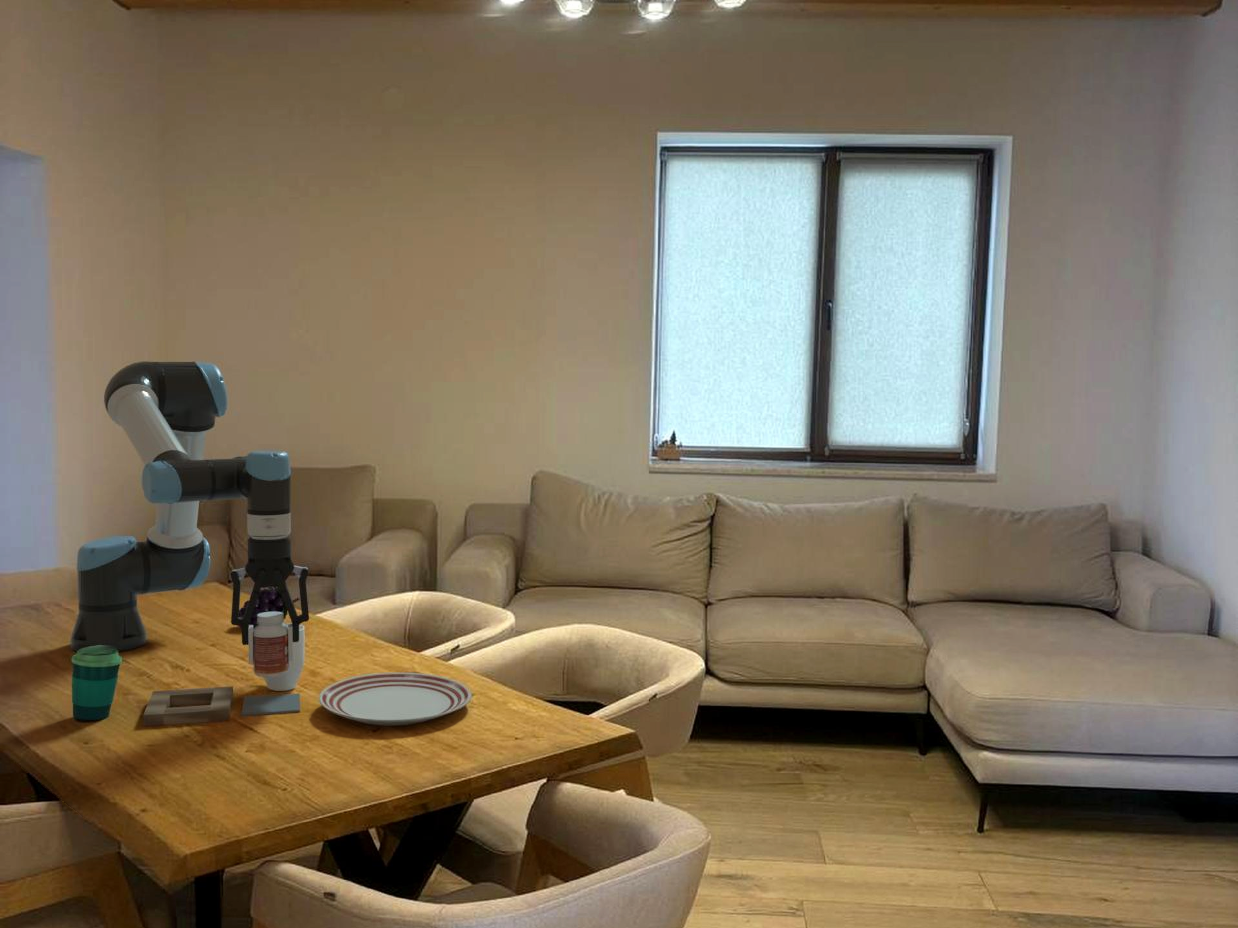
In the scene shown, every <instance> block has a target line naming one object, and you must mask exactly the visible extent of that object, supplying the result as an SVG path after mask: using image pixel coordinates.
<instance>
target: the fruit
mask: <svg viewBox="0 0 1238 928" xmlns="http://www.w3.org/2000/svg"><path fill="white" fill-rule="evenodd" d="M292 601H293V604H294V603H296V602H298V601H301V600H300V597H297V598H295V599H292ZM248 602H249V599H248V600H246V601H245V602H244V605H243V606H242V607H241V608H239V617H240V618H243V617H244V614H245V611H246V608H247V605H248ZM295 606H296V605H295V604H294V607H295ZM263 612H282V613H283V614H284V620H286V619H287V616H288V615H289V613H288V611H287V608H286V605H285V602H284V600H283V597H282V594H281V592H280V589H279V587H267V588H262V589H260V592H259V595H258V598H257V601H256V604H255V607H254V610H253V613H252V616H251V619H250V622H249V625H253V627H257V626H258V625H259V624H258V623H257V615H258V614H259V613H263ZM282 623H284V621H283V622H282Z"/></svg>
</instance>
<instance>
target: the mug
mask: <svg viewBox="0 0 1238 928" xmlns="http://www.w3.org/2000/svg"><path fill="white" fill-rule="evenodd" d="M288 623H289V622H283V623H282V624H284V625H285V626H286V627H287V628H288ZM305 628H306V627H305V625H303V624H300V625H299V641H298V642H293V661H289V671H288V672H287V673H286V674H284V675H281V676H276V677H262V678H263V680H264V682H265V684H266V686H267V689H268V690H271V691H274V692H275V691H277V692H279V691H280V692H283V691H285V692H287V691H291V690H293V689H295V688H296V687H297V684H298V682H299V679H300V676H301V674H302V671H303V669H304V665H305V651H306V647H305V646H306V644H305V643H306V642H305V640H306V639H305V635H306V633H305V630H306V629H305Z"/></svg>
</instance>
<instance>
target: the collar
mask: <svg viewBox="0 0 1238 928" xmlns="http://www.w3.org/2000/svg"><path fill="white" fill-rule="evenodd" d="M233 700H234V685H232V686H216V687H201V688H200V687H198V688H197V687H196V688H184V689H169V690H168V689H167V690H152V693H151V696H150V699H149V700H148V703H147V706H146V707H145V710H144V713H143V715H142V717H143V718H142V719H143V722H142V724H143V725H142V726H143V727H156V726H157V727H158V726H171V725H182V724H185V725H186V724H197V723H198V724H199V723H212V722H213V723H214V722H226V721H227V722H228V721H230V717H231V712H232V707H233ZM207 704H208V705H207ZM209 704H210V705H209ZM191 705H192V706H191ZM195 705H196V706H195ZM174 706H175V707H174ZM176 706H179V707H176Z"/></svg>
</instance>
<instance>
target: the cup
mask: <svg viewBox="0 0 1238 928" xmlns="http://www.w3.org/2000/svg"><path fill="white" fill-rule="evenodd" d="M71 662H72V675H71V703H72V717H73V718H74V720H75V721H76V722H79V723H93V722H99V721H102V720H105V719H107V718H109V716H110V712H111V707H112V704H113V702H114V697H115V693H116V688H117V683H118V678H119V675H118V674H119V671H120V666H121V664H122V662H123V658H122V656H120V655H119V652H118V651H117V648H116V647H115V646H110V645H97V646H90V647H85V648H82V649H79V650H78V651H76V654H74V655H72V657H71Z"/></svg>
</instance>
